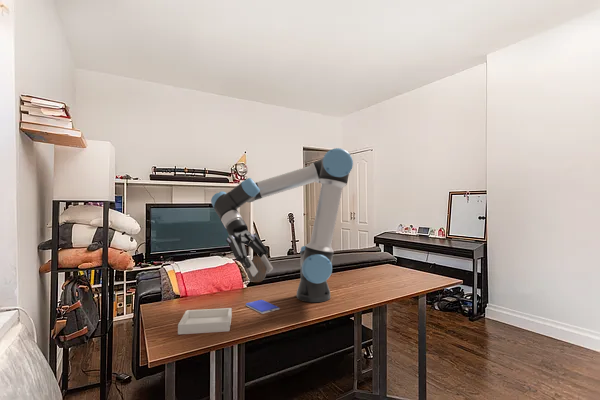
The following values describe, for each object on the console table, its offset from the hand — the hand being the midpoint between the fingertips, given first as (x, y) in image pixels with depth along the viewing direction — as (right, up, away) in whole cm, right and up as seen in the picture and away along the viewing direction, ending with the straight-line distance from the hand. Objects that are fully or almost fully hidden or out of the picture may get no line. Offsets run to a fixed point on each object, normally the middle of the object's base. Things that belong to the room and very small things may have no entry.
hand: (263, 272), depth 109 cm
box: (-19, -17, -3) cm, 26 cm away
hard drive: (-2, -19, +15) cm, 24 cm away
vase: (-3, -4, +2) cm, 5 cm away
